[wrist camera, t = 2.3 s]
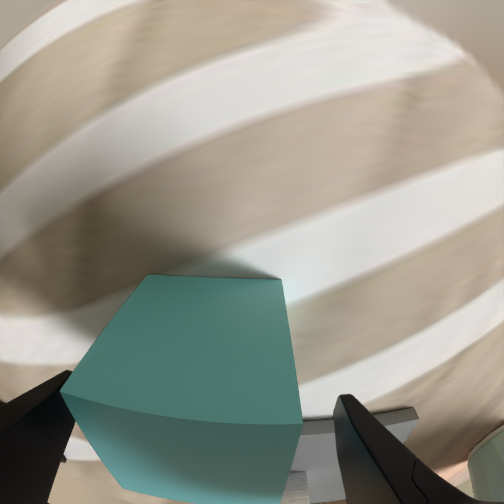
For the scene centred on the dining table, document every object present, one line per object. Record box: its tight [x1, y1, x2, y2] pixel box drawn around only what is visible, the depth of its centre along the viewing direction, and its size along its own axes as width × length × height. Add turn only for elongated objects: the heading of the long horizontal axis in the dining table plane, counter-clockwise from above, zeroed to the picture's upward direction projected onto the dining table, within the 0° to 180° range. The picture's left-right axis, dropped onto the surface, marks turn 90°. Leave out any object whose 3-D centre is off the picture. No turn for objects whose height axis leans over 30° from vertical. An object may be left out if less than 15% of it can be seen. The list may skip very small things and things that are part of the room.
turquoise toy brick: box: [60, 274, 303, 504], centre depth 9 cm, size 5×5×7 cm
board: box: [290, 408, 419, 504], centre depth 15 cm, size 15×12×1 cm
